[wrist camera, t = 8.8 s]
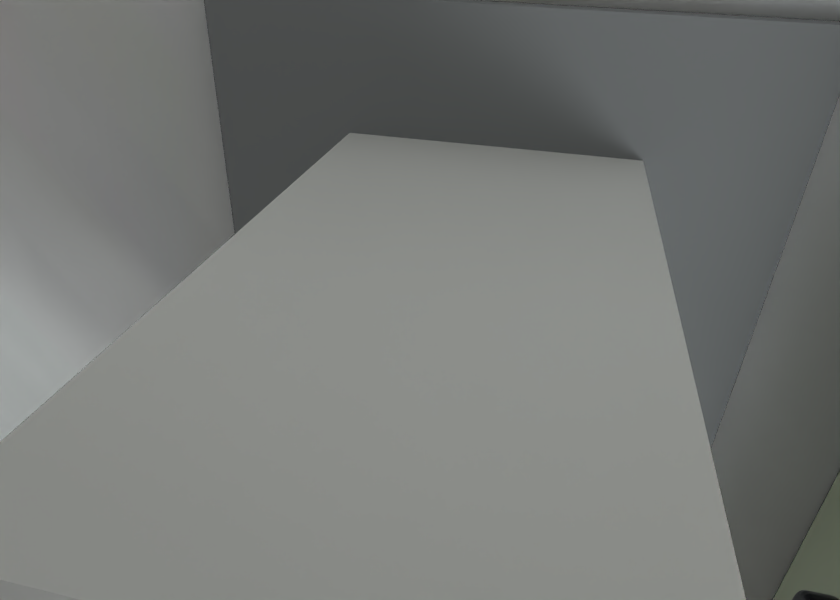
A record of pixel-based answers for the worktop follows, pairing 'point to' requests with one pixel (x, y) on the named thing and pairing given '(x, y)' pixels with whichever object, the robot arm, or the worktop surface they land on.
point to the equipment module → (390, 403)
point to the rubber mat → (555, 119)
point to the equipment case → (817, 553)
